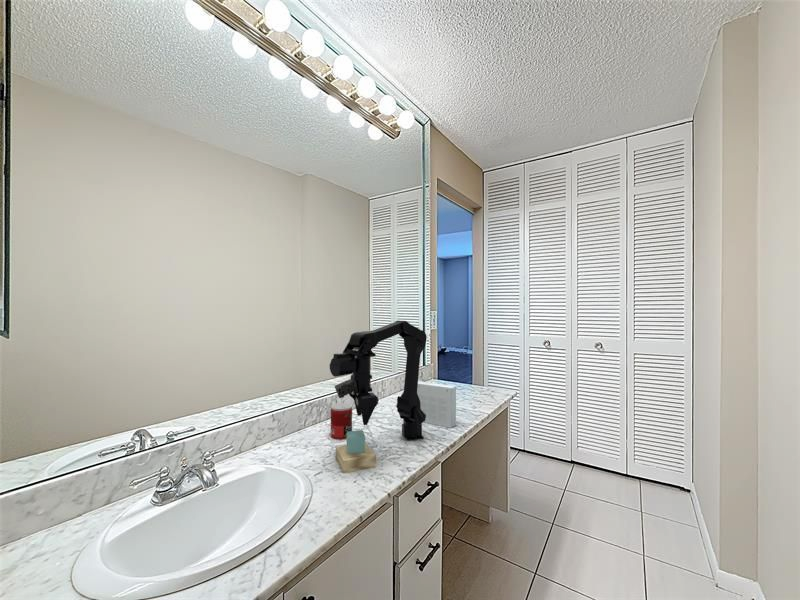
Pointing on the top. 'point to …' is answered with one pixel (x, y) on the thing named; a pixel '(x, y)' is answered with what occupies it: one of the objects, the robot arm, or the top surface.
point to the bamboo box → (355, 459)
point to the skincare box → (438, 403)
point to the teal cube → (355, 442)
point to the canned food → (341, 420)
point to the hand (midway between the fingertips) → (362, 420)
